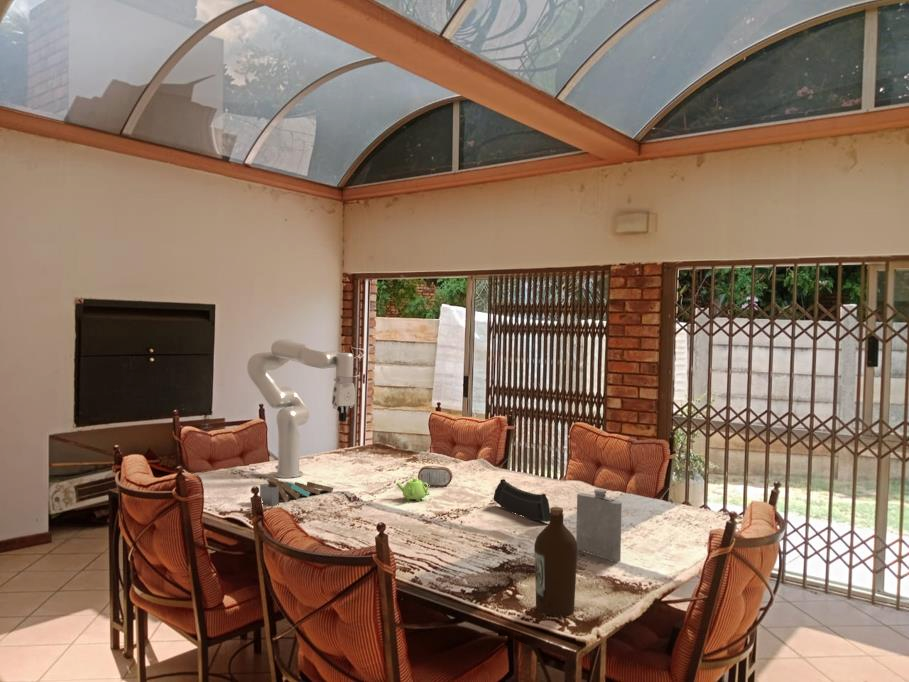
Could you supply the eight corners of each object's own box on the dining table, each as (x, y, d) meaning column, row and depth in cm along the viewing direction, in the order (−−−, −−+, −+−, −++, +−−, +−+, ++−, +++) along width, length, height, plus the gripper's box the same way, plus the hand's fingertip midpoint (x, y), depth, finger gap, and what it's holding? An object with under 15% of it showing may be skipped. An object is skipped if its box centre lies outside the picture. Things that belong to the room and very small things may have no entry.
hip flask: (574, 549, 220) (575, 486, 219) (582, 546, 223) (583, 484, 222) (616, 562, 208) (617, 495, 208) (624, 559, 211) (625, 493, 210)
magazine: (556, 500, 246) (506, 462, 270) (549, 501, 244) (500, 462, 268) (546, 542, 250) (498, 501, 274) (539, 544, 248) (491, 502, 272)
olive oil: (569, 599, 179) (571, 502, 178) (582, 617, 168) (584, 513, 168) (529, 601, 177) (530, 503, 177) (539, 618, 167) (540, 514, 166)
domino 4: (319, 494, 286) (301, 488, 279) (311, 492, 289) (293, 486, 282) (320, 490, 286) (302, 483, 279) (313, 488, 290) (295, 481, 283)
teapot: (433, 500, 279) (434, 479, 278) (408, 504, 272) (409, 482, 272) (419, 495, 288) (420, 474, 288) (395, 498, 282) (395, 477, 282)
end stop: (259, 502, 272) (260, 484, 272) (266, 501, 274) (266, 483, 274) (271, 506, 267) (272, 487, 267) (278, 504, 269) (278, 486, 269)
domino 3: (308, 497, 282) (290, 487, 275) (300, 495, 285) (283, 485, 278) (310, 493, 282) (292, 483, 276) (302, 490, 286) (285, 481, 279)
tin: (452, 485, 306) (452, 466, 306) (451, 487, 303) (451, 468, 303) (418, 484, 307) (418, 465, 307) (417, 486, 304) (417, 466, 304)
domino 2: (297, 499, 277) (281, 486, 272) (289, 497, 281) (274, 484, 275) (299, 495, 278) (284, 482, 272) (292, 493, 282) (276, 480, 276)
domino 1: (285, 502, 273) (274, 482, 269) (277, 499, 276) (266, 480, 272) (288, 499, 274) (277, 479, 270) (281, 496, 277) (270, 477, 273)
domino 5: (332, 492, 291) (313, 487, 283) (324, 490, 294) (306, 485, 287) (333, 487, 291) (315, 483, 284) (325, 485, 294) (307, 481, 287)
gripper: (335, 381, 303) (334, 423, 304) (362, 380, 314) (360, 421, 315) (325, 380, 309) (323, 421, 309) (351, 379, 320) (350, 419, 320)
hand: (342, 421), depth 312 cm, fingers closed
